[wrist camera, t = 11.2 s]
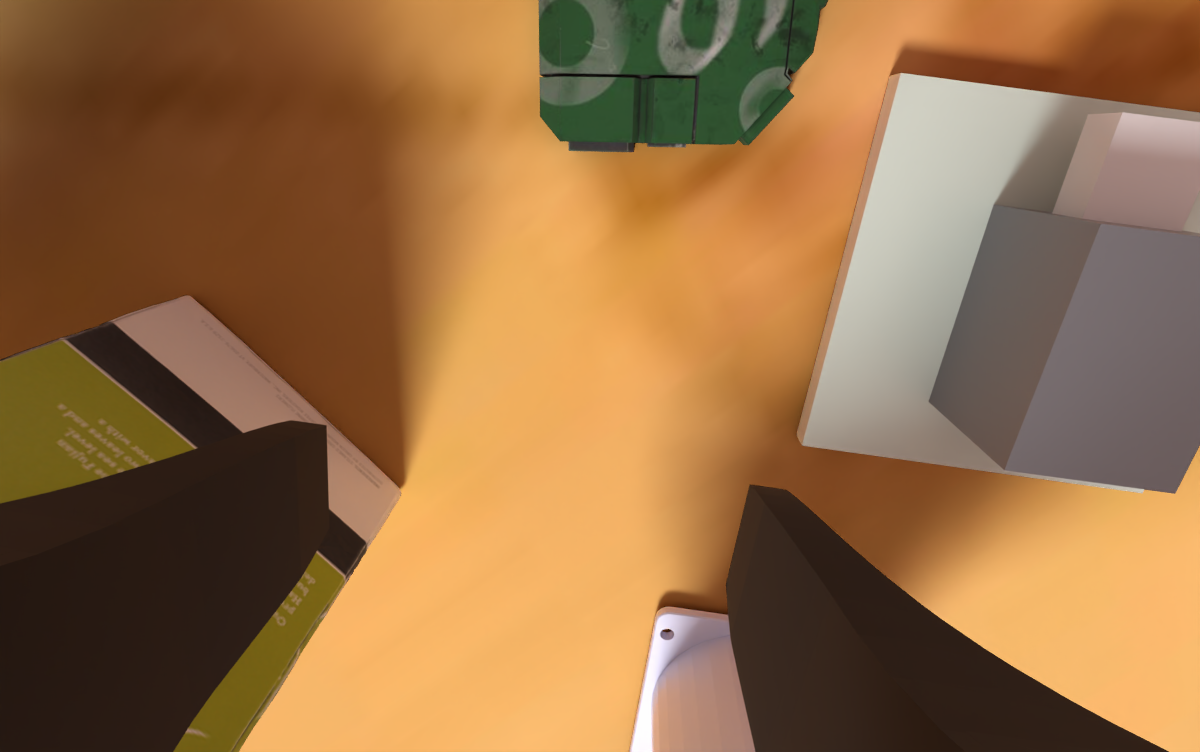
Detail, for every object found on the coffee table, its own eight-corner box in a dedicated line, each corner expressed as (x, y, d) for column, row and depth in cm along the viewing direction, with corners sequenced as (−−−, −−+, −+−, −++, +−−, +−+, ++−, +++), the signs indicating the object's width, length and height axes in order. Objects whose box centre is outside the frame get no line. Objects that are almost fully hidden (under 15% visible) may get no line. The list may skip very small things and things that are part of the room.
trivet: (1124, 480, 21) (1142, 493, 20) (796, 434, 21) (801, 445, 21) (1292, 129, 17) (1321, 128, 17) (889, 75, 17) (900, 72, 17)
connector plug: (1063, 419, 20) (1175, 493, 16) (928, 402, 20) (1004, 470, 16) (1183, 132, 17) (1359, 129, 13) (1024, 111, 17) (1148, 102, 13)
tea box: (181, 685, 27) (-299, 1255, 13) (-27, 528, 25) (-868, 1018, 11) (418, 487, 23) (82, 1012, 9) (195, 279, 21) (-699, 558, 7)
